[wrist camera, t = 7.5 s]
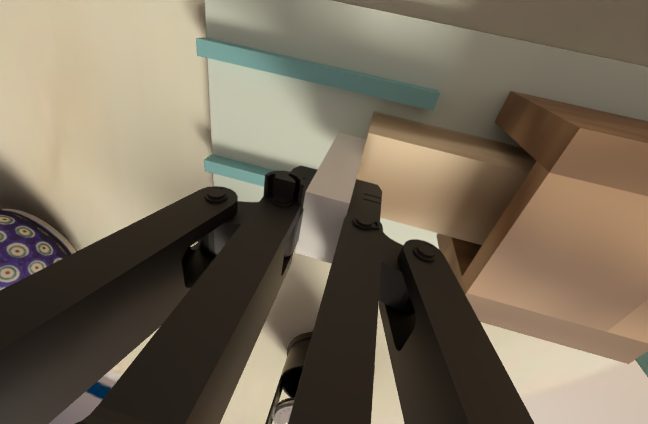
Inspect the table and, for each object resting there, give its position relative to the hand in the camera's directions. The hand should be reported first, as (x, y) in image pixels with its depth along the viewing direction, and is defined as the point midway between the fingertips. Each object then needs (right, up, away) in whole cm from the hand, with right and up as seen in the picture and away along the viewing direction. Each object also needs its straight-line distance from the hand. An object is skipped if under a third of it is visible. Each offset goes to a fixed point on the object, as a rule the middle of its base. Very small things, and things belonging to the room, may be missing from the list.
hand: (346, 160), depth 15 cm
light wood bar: (+7, 0, +1) cm, 7 cm away
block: (+11, -2, +1) cm, 11 cm away
